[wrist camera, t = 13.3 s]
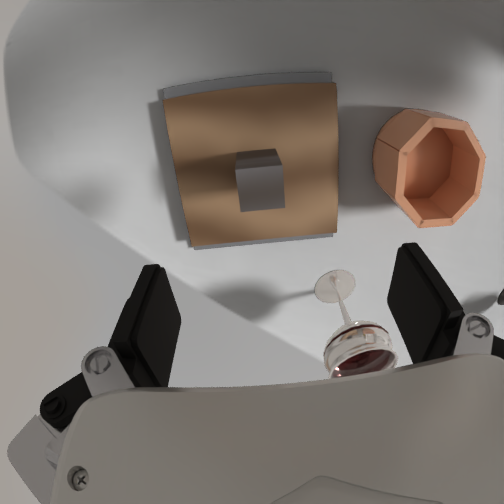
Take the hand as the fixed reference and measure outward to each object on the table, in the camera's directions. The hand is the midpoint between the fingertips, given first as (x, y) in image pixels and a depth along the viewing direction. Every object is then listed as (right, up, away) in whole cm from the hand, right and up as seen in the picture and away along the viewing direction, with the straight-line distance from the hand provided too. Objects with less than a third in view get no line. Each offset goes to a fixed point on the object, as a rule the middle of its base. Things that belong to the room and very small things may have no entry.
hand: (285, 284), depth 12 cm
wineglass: (+8, -3, +23) cm, 24 cm away
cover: (-1, +9, +14) cm, 17 cm away
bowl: (+15, +11, +14) cm, 23 cm away
